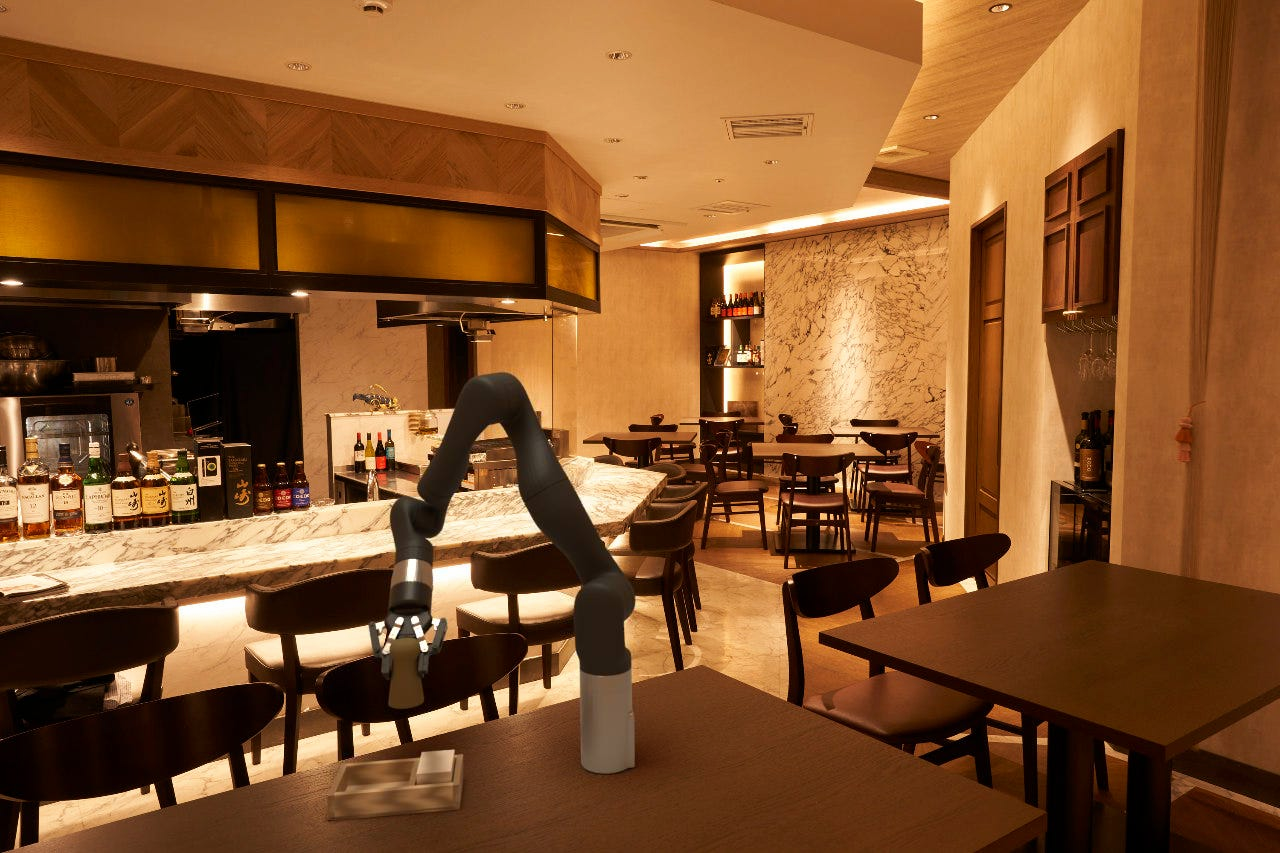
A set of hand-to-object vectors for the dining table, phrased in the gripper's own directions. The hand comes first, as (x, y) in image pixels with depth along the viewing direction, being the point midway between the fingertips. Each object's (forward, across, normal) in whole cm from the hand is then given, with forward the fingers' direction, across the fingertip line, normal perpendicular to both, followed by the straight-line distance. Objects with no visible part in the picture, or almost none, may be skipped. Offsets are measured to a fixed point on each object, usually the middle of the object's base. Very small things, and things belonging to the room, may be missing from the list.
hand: (404, 676), depth 140 cm
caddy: (+17, 0, +8) cm, 19 cm away
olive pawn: (+2, 0, +5) cm, 6 cm away
